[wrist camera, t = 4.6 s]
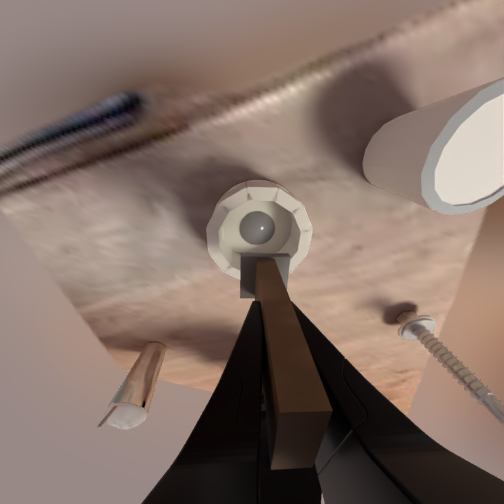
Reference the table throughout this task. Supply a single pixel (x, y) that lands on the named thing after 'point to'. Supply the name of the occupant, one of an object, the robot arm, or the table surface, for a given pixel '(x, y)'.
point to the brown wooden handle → (285, 366)
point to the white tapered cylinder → (444, 152)
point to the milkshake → (136, 390)
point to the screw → (448, 359)
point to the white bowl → (257, 225)
